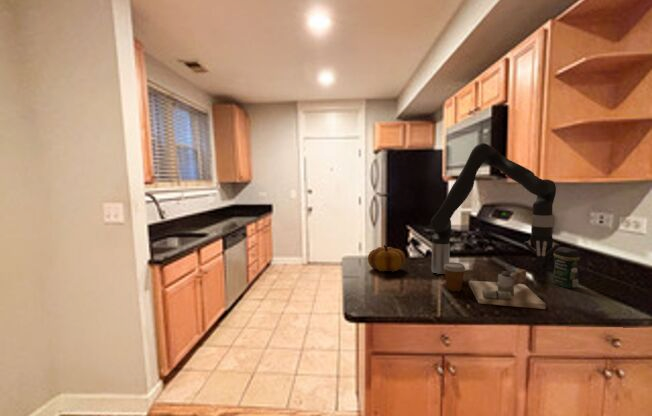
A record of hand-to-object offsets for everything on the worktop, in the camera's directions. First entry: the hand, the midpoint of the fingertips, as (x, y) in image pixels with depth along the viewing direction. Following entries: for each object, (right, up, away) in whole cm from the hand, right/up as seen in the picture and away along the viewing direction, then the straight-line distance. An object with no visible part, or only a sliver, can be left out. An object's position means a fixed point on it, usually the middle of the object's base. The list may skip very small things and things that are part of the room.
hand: (540, 263), depth 130 cm
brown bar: (-11, -12, +2) cm, 17 cm away
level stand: (-16, -15, +2) cm, 21 cm away
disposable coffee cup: (-34, -14, +11) cm, 38 cm away
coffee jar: (+21, -13, +13) cm, 28 cm away
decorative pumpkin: (-59, -12, +45) cm, 75 cm away
